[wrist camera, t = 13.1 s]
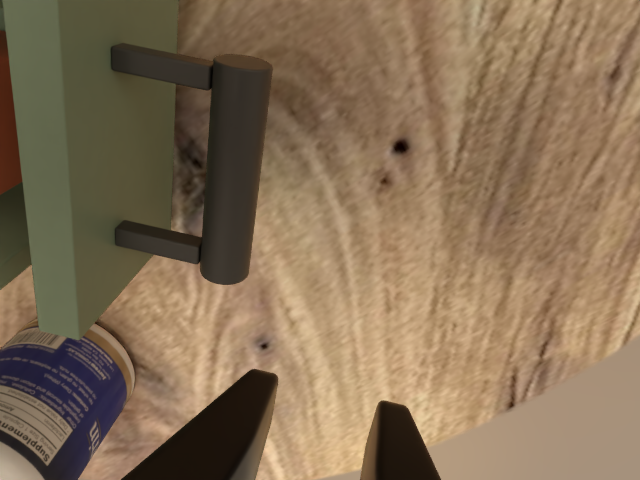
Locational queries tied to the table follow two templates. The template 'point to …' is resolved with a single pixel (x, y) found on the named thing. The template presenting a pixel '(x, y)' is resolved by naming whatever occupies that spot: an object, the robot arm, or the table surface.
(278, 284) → the table surface
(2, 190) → the block
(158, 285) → the table surface
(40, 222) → the drawer
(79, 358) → the pill bottle
